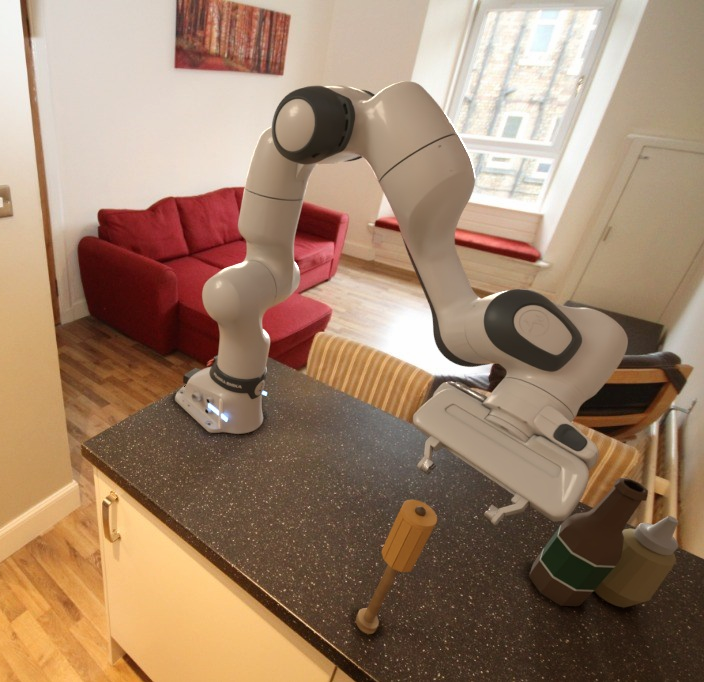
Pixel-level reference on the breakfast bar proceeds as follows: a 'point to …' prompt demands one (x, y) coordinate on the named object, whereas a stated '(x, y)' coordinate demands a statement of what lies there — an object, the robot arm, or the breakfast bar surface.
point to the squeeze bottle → (641, 564)
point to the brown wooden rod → (375, 603)
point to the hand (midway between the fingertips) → (453, 494)
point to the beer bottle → (586, 546)
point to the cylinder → (408, 535)
